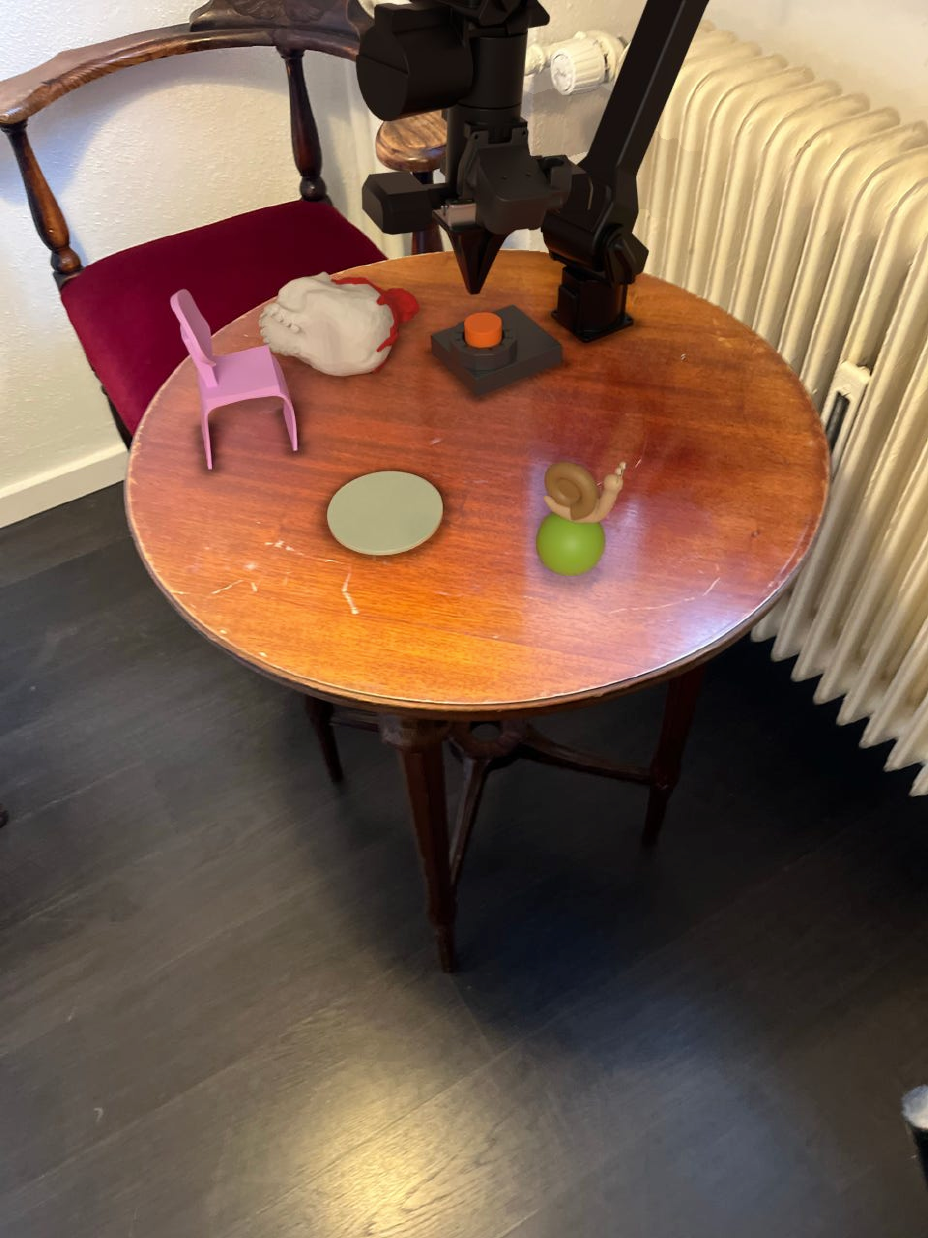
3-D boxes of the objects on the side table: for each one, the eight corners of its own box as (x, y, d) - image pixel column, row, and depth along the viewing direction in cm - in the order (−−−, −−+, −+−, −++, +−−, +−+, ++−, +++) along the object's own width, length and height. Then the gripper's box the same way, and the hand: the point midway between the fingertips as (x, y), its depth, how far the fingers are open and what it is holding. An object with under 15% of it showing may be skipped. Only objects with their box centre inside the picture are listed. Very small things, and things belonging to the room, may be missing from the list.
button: (489, 323, 88) (489, 307, 87) (508, 341, 86) (508, 324, 85) (458, 335, 87) (457, 319, 86) (477, 353, 85) (476, 337, 84)
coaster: (408, 460, 81) (408, 456, 81) (464, 525, 76) (464, 521, 75) (309, 502, 78) (308, 497, 78) (359, 572, 73) (358, 568, 72)
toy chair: (304, 456, 82) (270, 309, 71) (209, 477, 81) (158, 331, 69) (290, 403, 87) (256, 259, 76) (200, 422, 86) (152, 278, 75)
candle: (260, 366, 91) (373, 321, 98) (330, 412, 85) (443, 361, 93) (249, 280, 84) (370, 239, 92) (323, 324, 79) (445, 276, 87)
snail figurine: (594, 604, 69) (607, 489, 60) (523, 574, 72) (524, 459, 63) (625, 560, 72) (641, 444, 63) (555, 532, 75) (561, 416, 65)
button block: (513, 322, 95) (513, 287, 92) (561, 363, 90) (563, 328, 87) (429, 354, 92) (426, 319, 89) (474, 398, 87) (473, 363, 84)
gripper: (409, 142, 61) (407, 352, 72) (643, 121, 66) (608, 318, 77) (356, 93, 68) (362, 291, 79) (572, 78, 73) (549, 264, 84)
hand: (473, 292), depth 80 cm, fingers closed
